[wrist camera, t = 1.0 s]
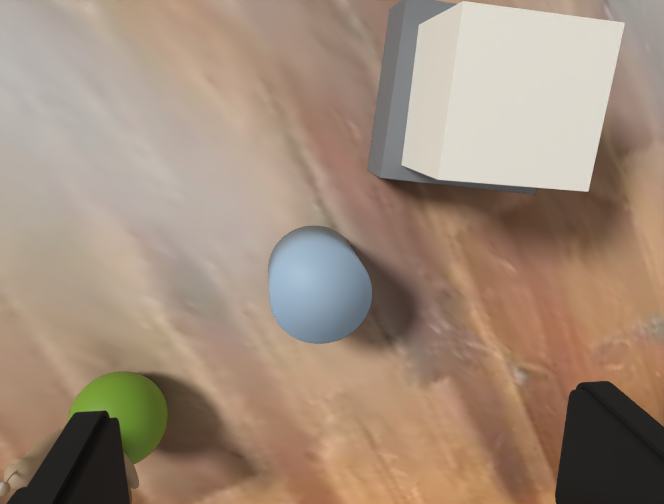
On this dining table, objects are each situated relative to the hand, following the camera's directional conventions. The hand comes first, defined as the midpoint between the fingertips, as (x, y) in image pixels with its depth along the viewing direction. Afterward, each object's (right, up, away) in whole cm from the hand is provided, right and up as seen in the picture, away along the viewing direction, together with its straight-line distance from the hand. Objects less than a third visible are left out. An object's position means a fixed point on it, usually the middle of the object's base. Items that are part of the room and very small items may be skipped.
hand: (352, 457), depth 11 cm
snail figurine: (-14, -4, +23) cm, 27 cm away
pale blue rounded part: (-2, +3, +22) cm, 22 cm away
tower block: (+7, +12, +17) cm, 22 cm away
